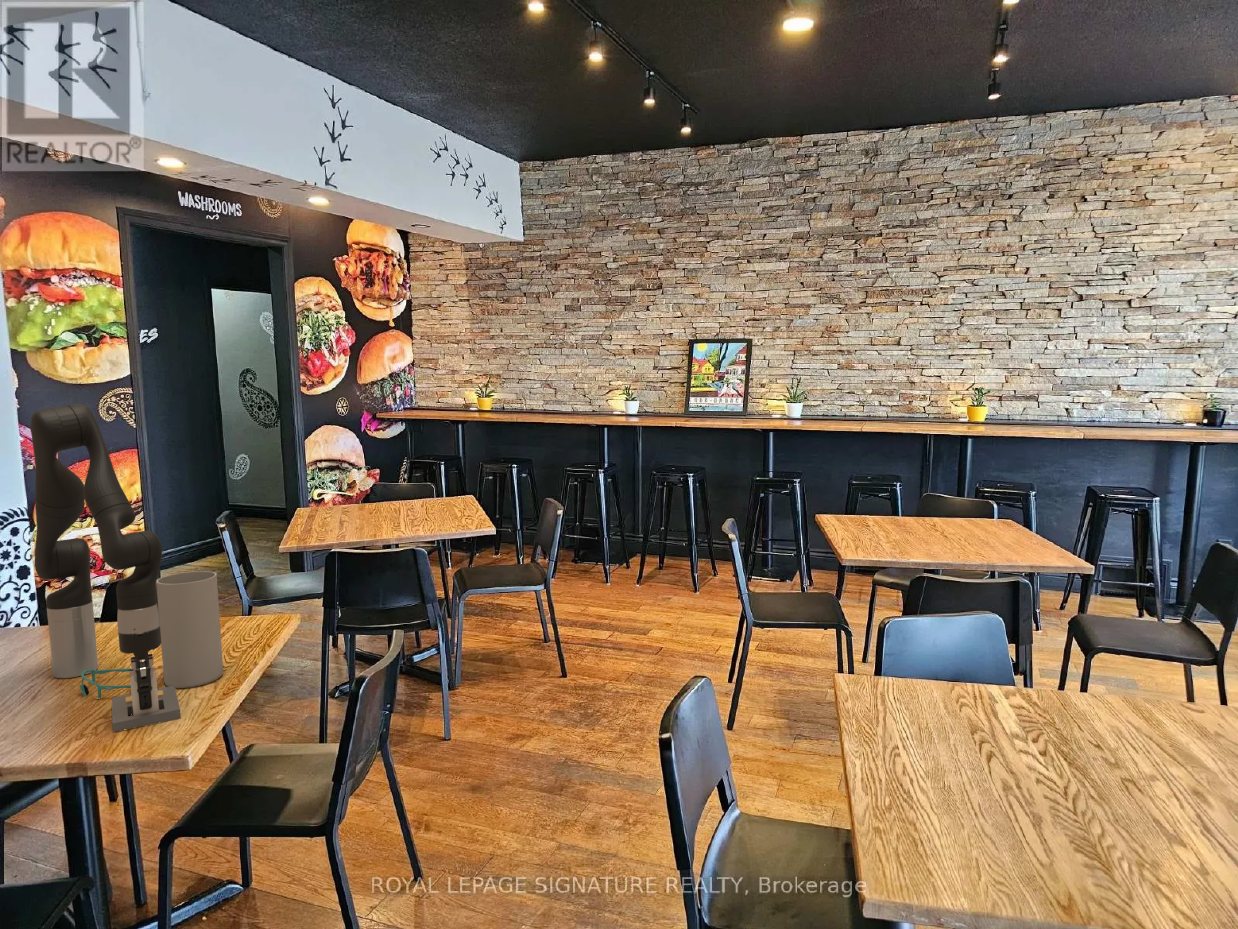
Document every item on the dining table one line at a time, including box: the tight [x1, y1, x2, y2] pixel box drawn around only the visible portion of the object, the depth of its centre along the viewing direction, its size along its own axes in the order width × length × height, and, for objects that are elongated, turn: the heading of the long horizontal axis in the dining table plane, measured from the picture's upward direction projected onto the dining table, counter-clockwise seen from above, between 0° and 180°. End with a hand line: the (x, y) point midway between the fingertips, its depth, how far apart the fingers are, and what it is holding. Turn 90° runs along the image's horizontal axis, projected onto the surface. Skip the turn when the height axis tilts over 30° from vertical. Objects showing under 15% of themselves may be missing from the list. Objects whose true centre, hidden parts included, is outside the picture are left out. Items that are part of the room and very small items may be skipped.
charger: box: [129, 666, 160, 716], centre depth 164 cm, size 4×5×9 cm
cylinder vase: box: [156, 570, 224, 689], centre depth 184 cm, size 12×12×25 cm
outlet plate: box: [111, 685, 182, 733], centre depth 167 cm, size 16×12×2 cm
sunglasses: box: [79, 667, 159, 699], centre depth 181 cm, size 14×15×5 cm
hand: (145, 704), depth 164 cm, fingers open, 4 cm apart
